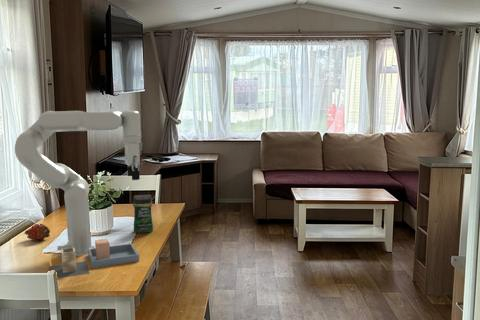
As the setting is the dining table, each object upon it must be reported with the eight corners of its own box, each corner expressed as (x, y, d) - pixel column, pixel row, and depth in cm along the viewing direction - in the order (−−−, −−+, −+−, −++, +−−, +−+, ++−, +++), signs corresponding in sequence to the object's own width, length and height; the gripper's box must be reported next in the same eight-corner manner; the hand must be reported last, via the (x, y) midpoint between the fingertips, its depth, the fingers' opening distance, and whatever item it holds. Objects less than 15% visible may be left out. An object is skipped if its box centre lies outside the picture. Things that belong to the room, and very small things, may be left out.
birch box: (63, 272, 190) (61, 252, 189) (62, 268, 194) (61, 248, 193) (76, 270, 192) (75, 251, 191) (75, 266, 196) (74, 247, 195)
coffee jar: (134, 234, 239) (132, 197, 236) (133, 229, 247) (131, 193, 244) (154, 232, 242) (152, 196, 238) (152, 228, 249) (151, 192, 246)
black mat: (51, 281, 184) (51, 279, 184) (50, 268, 197) (49, 266, 197) (89, 275, 190) (89, 273, 189) (86, 262, 202) (85, 261, 202)
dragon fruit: (52, 243, 231) (27, 247, 232) (55, 229, 237) (31, 232, 238) (44, 233, 225) (19, 237, 226) (48, 218, 231) (23, 222, 231)
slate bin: (92, 269, 195) (92, 261, 194) (88, 256, 209) (88, 249, 208) (139, 262, 202) (138, 254, 201) (132, 250, 216) (131, 243, 216)
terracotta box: (97, 262, 201) (96, 243, 199) (96, 258, 205) (95, 240, 204) (110, 260, 202) (109, 242, 201) (108, 256, 207) (107, 238, 206)
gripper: (119, 137, 218) (121, 175, 221) (126, 142, 203) (128, 182, 206) (136, 136, 221) (138, 173, 224) (144, 141, 206) (146, 180, 208)
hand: (133, 177), depth 215 cm, fingers open, 9 cm apart
